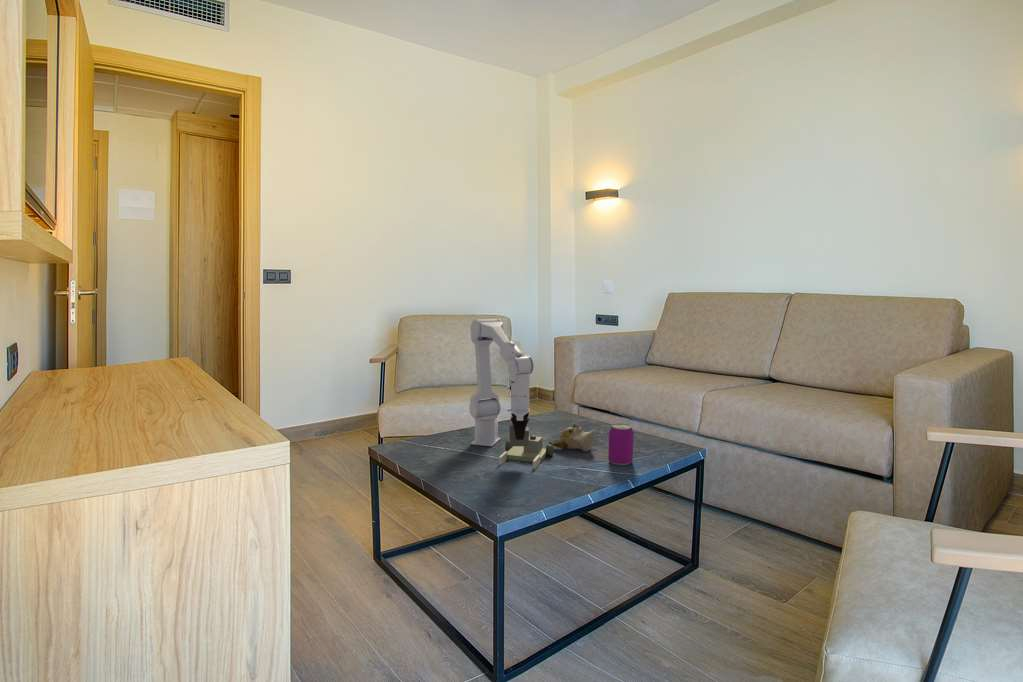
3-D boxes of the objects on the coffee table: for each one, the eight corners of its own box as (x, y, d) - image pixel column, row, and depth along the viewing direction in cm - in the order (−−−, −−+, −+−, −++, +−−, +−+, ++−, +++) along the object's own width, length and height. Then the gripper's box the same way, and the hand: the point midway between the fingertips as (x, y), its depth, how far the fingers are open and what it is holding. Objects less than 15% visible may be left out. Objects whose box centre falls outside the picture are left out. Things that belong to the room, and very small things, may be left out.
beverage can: (637, 463, 181) (639, 427, 179) (618, 467, 177) (620, 430, 175) (621, 456, 187) (622, 421, 186) (603, 460, 183) (604, 424, 182)
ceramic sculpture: (587, 430, 186) (546, 426, 194) (588, 456, 187) (547, 451, 195) (599, 423, 196) (560, 419, 203) (600, 447, 196) (560, 443, 204)
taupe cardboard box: (509, 442, 181) (509, 422, 180) (528, 442, 181) (528, 422, 180) (509, 446, 177) (509, 426, 176) (528, 446, 177) (528, 426, 176)
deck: (508, 448, 194) (508, 431, 194) (553, 453, 190) (554, 435, 189) (492, 464, 179) (492, 444, 179) (541, 469, 175) (541, 450, 174)
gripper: (508, 389, 184) (507, 430, 186) (506, 400, 170) (506, 444, 172) (529, 389, 184) (529, 430, 186) (530, 400, 170) (529, 444, 171)
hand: (519, 437), depth 179 cm, fingers closed on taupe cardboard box, 4 cm apart
